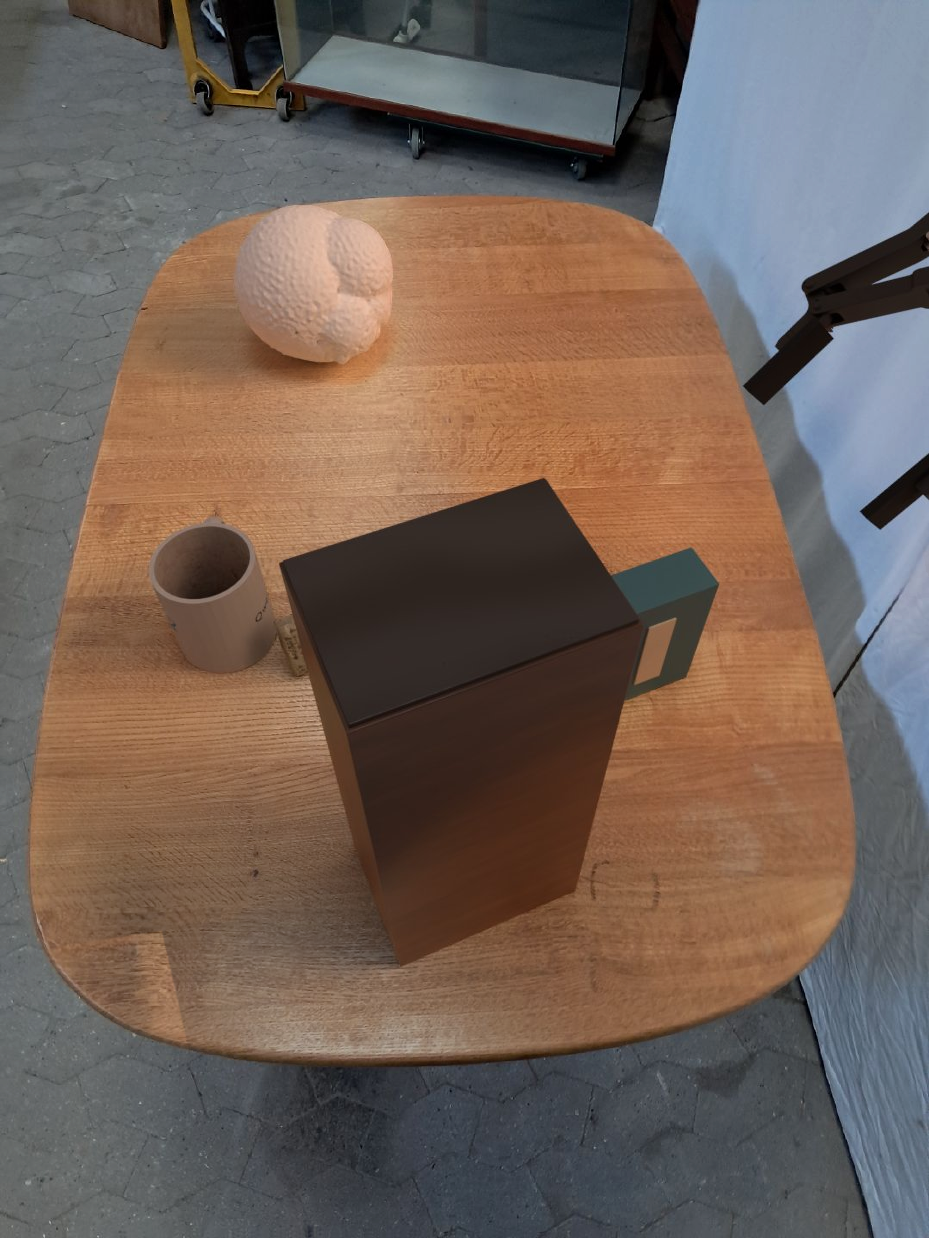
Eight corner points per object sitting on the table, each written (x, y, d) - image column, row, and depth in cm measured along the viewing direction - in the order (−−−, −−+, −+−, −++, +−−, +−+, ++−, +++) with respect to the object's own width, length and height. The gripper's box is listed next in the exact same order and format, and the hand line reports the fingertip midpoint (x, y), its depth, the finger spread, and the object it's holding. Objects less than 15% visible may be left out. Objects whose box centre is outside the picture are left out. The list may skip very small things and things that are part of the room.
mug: (265, 676, 79) (241, 607, 71) (169, 669, 79) (134, 600, 71) (293, 568, 86) (274, 493, 78) (204, 562, 87) (177, 488, 79)
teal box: (687, 678, 79) (720, 585, 68) (595, 714, 76) (615, 623, 66) (663, 642, 81) (691, 546, 70) (573, 676, 79) (588, 582, 68)
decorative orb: (247, 300, 112) (218, 172, 99) (390, 286, 113) (380, 158, 100) (250, 407, 100) (218, 277, 87) (410, 389, 101) (401, 259, 89)
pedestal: (575, 890, 67) (645, 620, 40) (399, 967, 64) (345, 730, 37) (518, 778, 73) (546, 473, 46) (353, 843, 70) (277, 558, 42)
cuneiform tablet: (429, 647, 81) (302, 700, 77) (408, 618, 84) (285, 667, 80) (419, 587, 76) (283, 640, 72) (398, 558, 79) (266, 608, 76)
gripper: (1270, 346, 51) (943, 595, 59) (962, 144, 64) (733, 370, 73) (1269, 285, 45) (909, 568, 54) (932, 77, 59) (688, 331, 68)
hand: (807, 455), depth 64 cm, fingers open, 13 cm apart
